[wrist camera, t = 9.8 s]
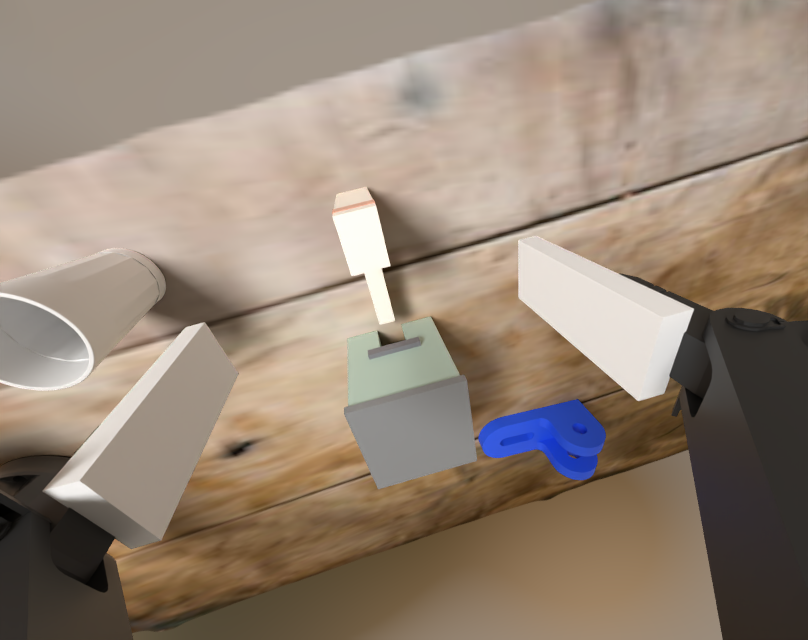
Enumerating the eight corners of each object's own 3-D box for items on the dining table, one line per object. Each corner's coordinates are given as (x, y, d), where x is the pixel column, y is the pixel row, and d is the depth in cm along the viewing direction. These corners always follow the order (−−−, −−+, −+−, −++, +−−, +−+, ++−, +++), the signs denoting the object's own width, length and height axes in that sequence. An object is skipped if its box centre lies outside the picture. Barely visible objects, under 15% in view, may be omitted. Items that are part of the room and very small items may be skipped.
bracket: (577, 398, 52) (616, 441, 45) (569, 429, 57) (605, 474, 49) (478, 421, 51) (501, 470, 43) (478, 452, 55) (499, 501, 48)
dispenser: (343, 335, 38) (343, 411, 27) (432, 311, 38) (466, 377, 27) (370, 405, 45) (378, 489, 34) (445, 384, 45) (477, 460, 34)
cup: (58, 248, 28) (-105, 307, 18) (146, 231, 29) (35, 279, 18) (114, 320, 32) (7, 401, 22) (190, 304, 33) (119, 376, 23)
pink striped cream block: (335, 193, 29) (331, 215, 20) (366, 185, 30) (376, 204, 20) (371, 312, 37) (380, 369, 27) (396, 305, 37) (413, 360, 27)
